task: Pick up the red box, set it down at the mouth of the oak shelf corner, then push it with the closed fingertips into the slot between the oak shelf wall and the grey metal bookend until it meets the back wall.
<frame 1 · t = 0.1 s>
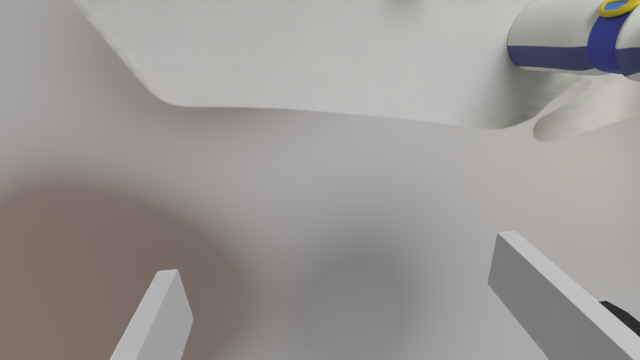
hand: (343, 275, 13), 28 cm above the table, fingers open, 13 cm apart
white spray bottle: (536, 35, 38), on the table
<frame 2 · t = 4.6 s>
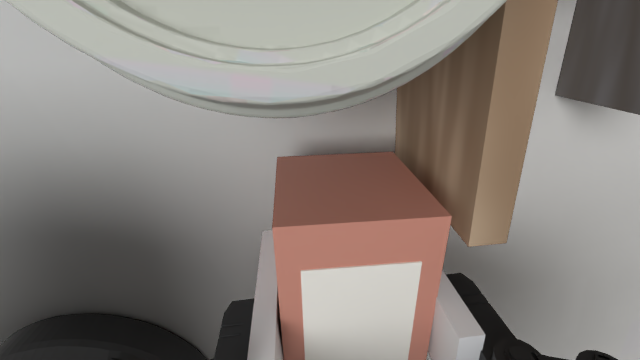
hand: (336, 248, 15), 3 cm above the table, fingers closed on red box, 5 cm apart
shelf: (547, 22, 15), on the table
red box: (335, 241, 16), point 3 cm above the table, touching gripper
when the fingers open (1 cm above the table, at t = 7.7 s): red box stays where it is, on the table.
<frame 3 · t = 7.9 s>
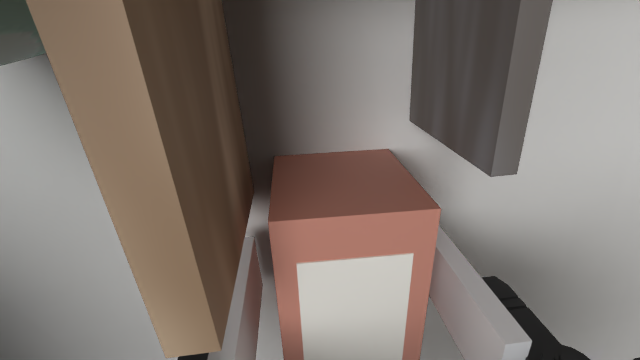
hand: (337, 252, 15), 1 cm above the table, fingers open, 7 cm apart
shelf: (383, 35, 12), on the table
red box: (333, 236, 16), on the table
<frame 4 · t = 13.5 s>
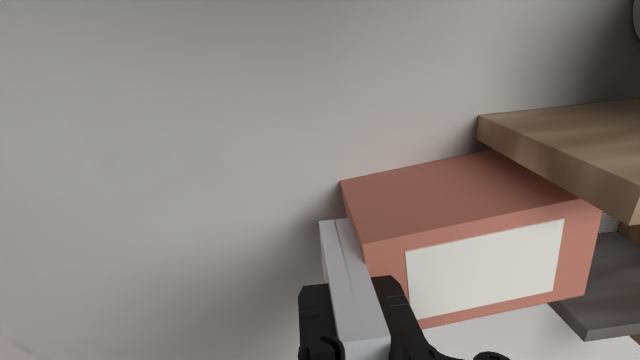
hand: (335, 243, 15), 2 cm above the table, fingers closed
shelf: (562, 222, 19), on the table
red box: (427, 204, 18), on the table, touching gripper
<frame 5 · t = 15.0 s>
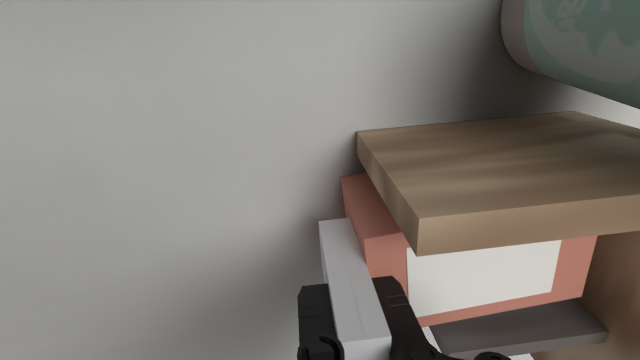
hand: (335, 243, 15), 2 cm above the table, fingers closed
shelf: (460, 238, 19), on the table
coffee cup: (560, 4, 14), on the table
red box: (426, 203, 18), on the table, touching gripper
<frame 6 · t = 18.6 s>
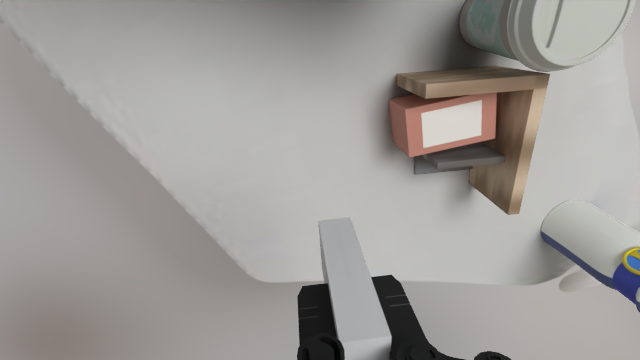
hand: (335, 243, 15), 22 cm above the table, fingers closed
shelf: (444, 132, 38), on the table
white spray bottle: (564, 222, 45), on the table
coffee cup: (485, 17, 33), on the table
red box: (429, 112, 37), on the table
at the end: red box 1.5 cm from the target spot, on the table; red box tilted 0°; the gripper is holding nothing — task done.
